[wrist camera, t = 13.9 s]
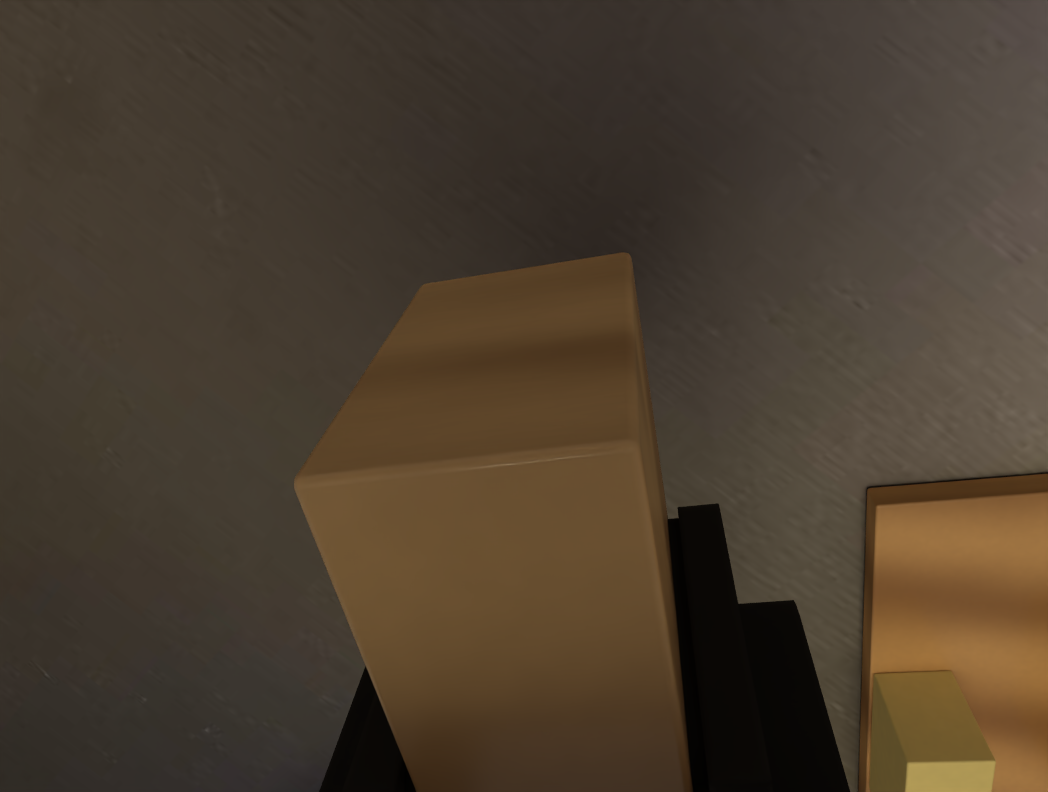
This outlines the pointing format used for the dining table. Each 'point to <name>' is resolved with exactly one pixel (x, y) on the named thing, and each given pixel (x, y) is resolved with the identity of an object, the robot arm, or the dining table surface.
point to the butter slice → (926, 736)
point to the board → (964, 609)
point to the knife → (510, 536)
